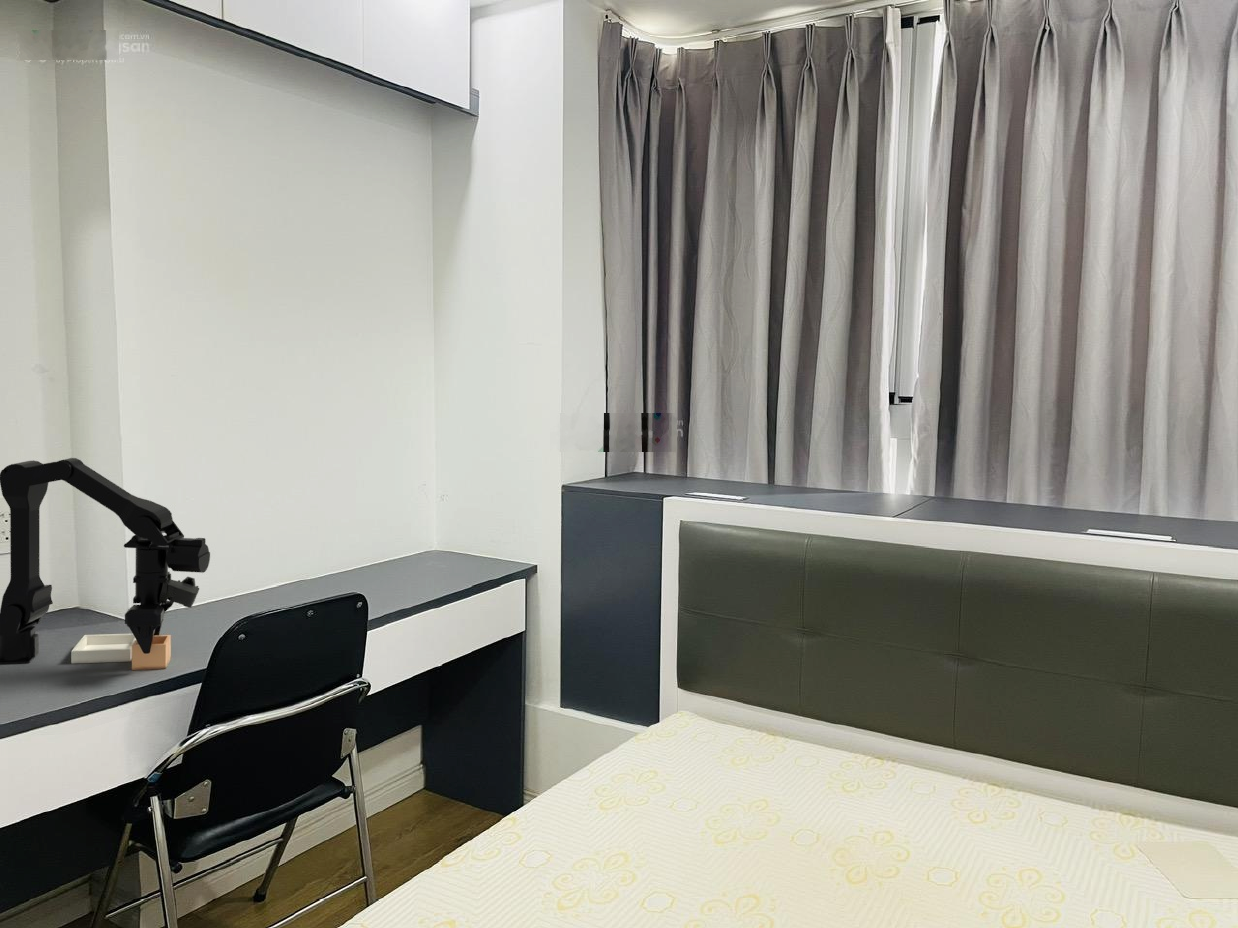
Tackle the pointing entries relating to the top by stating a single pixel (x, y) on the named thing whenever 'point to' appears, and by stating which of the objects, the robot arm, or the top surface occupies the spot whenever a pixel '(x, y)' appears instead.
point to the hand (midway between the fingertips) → (151, 645)
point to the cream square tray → (103, 648)
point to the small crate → (152, 654)
